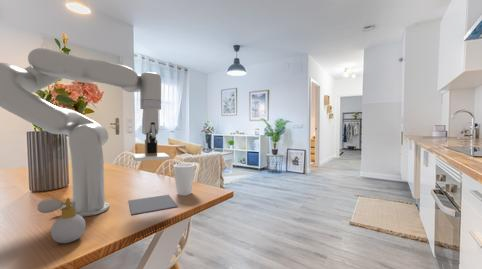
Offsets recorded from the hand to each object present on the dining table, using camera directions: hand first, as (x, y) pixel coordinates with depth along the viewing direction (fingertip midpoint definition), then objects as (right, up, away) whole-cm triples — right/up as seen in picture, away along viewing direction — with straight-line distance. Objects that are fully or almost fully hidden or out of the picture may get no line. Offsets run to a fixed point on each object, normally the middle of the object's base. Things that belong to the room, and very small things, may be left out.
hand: (150, 151), depth 88 cm
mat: (0, -21, +1) cm, 21 cm away
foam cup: (+9, -20, +15) cm, 27 cm away
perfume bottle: (-12, -22, -28) cm, 38 cm away
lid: (0, -2, 0) cm, 2 cm away
